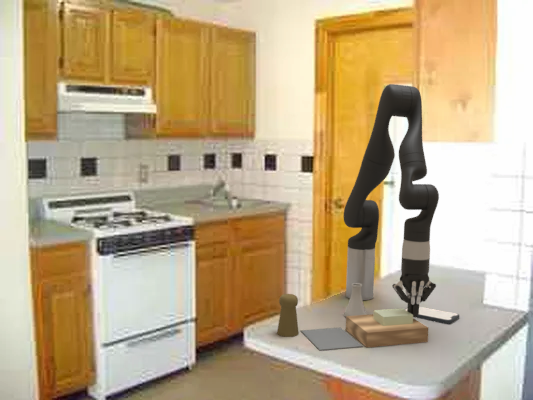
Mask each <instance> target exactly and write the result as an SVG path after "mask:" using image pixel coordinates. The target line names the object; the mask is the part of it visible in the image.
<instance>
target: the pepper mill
mask: <svg viewBox="0 0 533 400" xmlns="http://www.w3.org/2000/svg"><path fill="white" fill-rule="evenodd" d="M278 303H279V305H280V312H279V313H280V314H279V318H278V325H277V335H278V336H280V337H285V338H293V337H297V336H298V335H299V333H300V332H299V323H298V314H297V306H298V304H299V299H298V296H297V295H296V294H293V293H283V294H282V295H280V296H279V299H278Z"/></svg>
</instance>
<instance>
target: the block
mask: <svg viewBox="0 0 533 400" xmlns="http://www.w3.org/2000/svg"><path fill="white" fill-rule="evenodd" d="M404 309H405V308H403V307H401V308H389V309H387V308H386V309H375V310H373V313H372V314H373V319H374V320H375V321H377V322H378V323H380V324H381V325H382V326H388V325H401V324H413V318H414V317H413V314H411V313H409V312H408V311H406V310H404Z"/></svg>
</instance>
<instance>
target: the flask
mask: <svg viewBox="0 0 533 400" xmlns="http://www.w3.org/2000/svg"><path fill="white" fill-rule="evenodd" d="M361 287H362V284H359V283H353V284H352V294H351V298H349V301H348V303H347V305H346V308H345V310H344V312H343V315H344V317H345V318H346V316H355V315H368V314H367V311H366V308H365V304H364V300H362V296H361Z"/></svg>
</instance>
